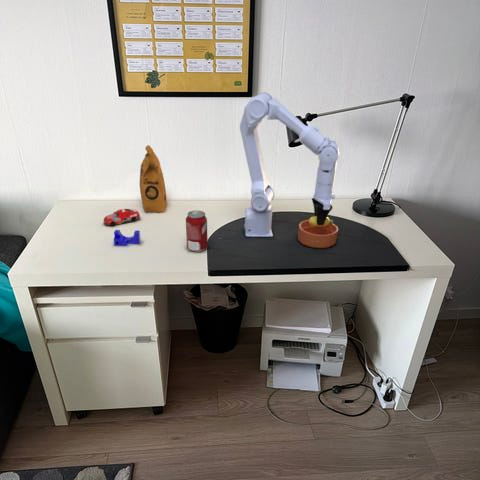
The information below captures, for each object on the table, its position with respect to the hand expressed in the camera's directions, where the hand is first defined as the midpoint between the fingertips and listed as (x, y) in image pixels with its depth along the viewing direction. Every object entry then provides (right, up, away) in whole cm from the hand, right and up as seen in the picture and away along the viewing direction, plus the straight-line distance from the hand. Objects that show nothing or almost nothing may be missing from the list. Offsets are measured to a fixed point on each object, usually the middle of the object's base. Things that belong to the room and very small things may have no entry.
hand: (319, 222), depth 148 cm
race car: (-70, +3, +12) cm, 71 cm away
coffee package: (-60, +11, +23) cm, 66 cm away
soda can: (-41, -10, -4) cm, 42 cm away
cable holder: (-64, -8, -3) cm, 64 cm away
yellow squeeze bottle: (0, -1, +1) cm, 1 cm away
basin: (0, -5, +4) cm, 7 cm away
